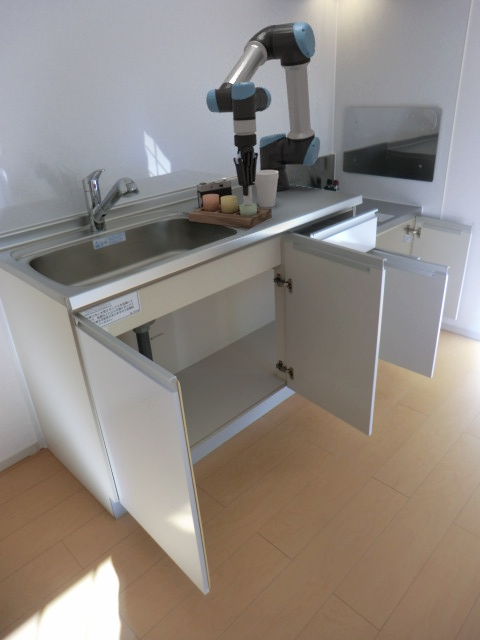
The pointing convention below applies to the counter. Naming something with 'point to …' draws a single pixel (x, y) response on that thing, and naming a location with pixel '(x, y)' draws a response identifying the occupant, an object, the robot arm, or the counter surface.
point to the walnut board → (229, 217)
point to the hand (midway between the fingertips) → (248, 204)
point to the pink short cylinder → (211, 202)
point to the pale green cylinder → (248, 209)
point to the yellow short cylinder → (229, 204)
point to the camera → (213, 190)
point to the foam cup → (266, 187)
